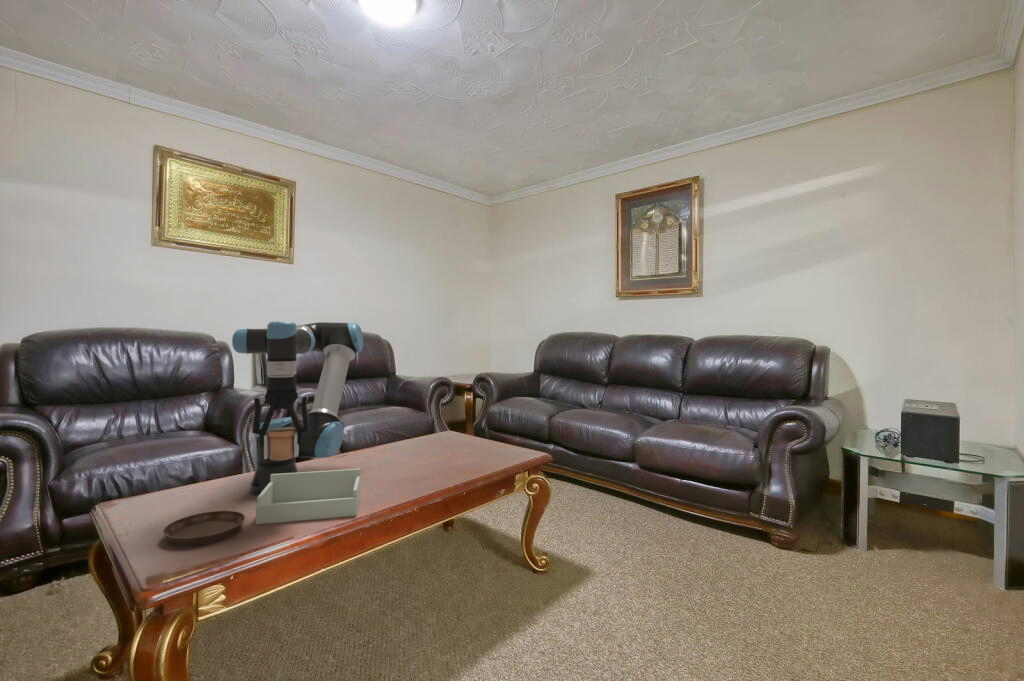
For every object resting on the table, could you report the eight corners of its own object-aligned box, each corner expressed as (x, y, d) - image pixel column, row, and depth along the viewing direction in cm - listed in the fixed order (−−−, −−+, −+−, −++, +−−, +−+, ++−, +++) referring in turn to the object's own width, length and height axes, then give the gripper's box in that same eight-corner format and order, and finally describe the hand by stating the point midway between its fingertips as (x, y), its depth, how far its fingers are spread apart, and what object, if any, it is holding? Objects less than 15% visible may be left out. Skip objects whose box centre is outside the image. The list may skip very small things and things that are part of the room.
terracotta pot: (270, 455, 132) (270, 427, 132) (297, 453, 134) (297, 426, 134) (265, 461, 126) (265, 432, 126) (293, 460, 128) (293, 431, 128)
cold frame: (271, 503, 140) (271, 474, 140) (360, 496, 147) (360, 468, 146) (255, 524, 125) (255, 491, 124) (356, 515, 131) (356, 484, 131)
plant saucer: (236, 515, 131) (236, 504, 131) (252, 535, 118) (252, 523, 118) (158, 533, 119) (158, 521, 119) (167, 557, 106) (167, 544, 106)
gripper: (238, 377, 123) (238, 462, 123) (318, 376, 129) (317, 457, 129) (245, 375, 130) (245, 455, 131) (320, 374, 136) (320, 451, 136)
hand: (281, 456), depth 130 cm, fingers closed on terracotta pot, 7 cm apart
